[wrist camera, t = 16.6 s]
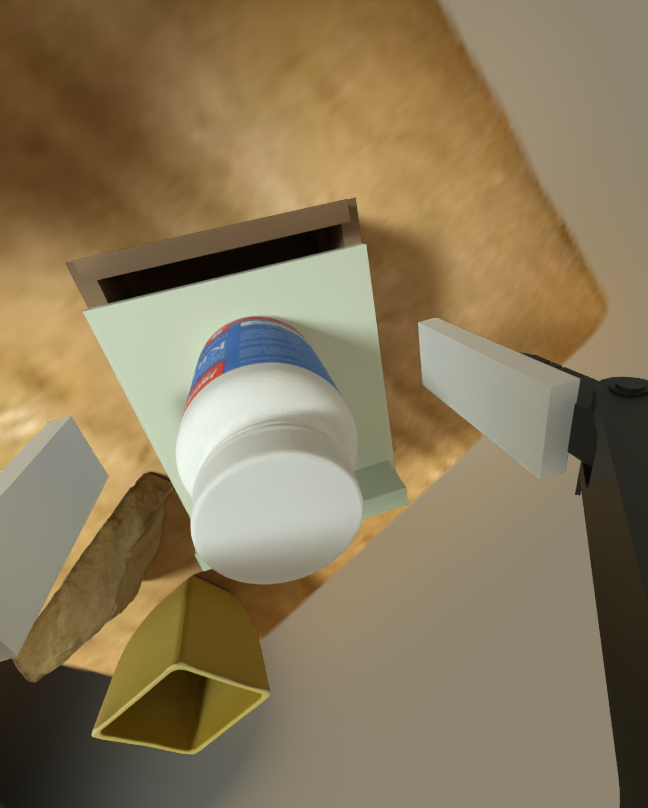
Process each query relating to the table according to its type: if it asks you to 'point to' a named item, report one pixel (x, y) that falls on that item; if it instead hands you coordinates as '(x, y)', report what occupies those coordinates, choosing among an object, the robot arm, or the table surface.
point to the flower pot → (185, 673)
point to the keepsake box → (215, 252)
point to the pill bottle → (267, 456)
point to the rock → (99, 579)
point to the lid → (258, 296)
